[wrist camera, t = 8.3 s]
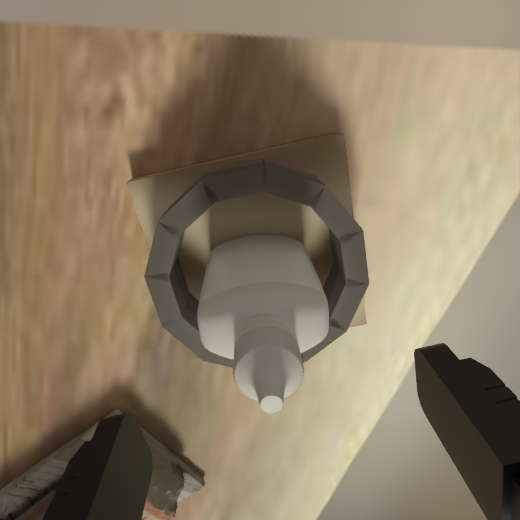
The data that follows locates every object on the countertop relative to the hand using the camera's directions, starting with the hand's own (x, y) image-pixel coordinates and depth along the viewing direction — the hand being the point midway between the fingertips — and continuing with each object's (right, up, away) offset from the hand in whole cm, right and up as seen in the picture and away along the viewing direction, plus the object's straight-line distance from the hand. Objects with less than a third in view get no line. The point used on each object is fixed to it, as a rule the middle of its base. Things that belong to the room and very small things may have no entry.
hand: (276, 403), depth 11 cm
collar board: (-1, +5, +13) cm, 14 cm away
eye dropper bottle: (-1, +4, +12) cm, 13 cm away
